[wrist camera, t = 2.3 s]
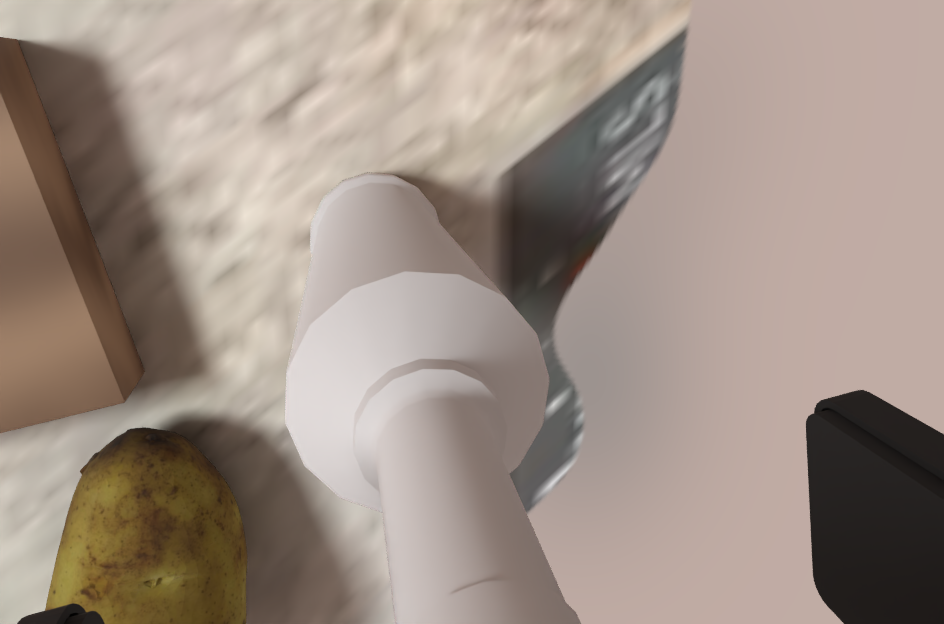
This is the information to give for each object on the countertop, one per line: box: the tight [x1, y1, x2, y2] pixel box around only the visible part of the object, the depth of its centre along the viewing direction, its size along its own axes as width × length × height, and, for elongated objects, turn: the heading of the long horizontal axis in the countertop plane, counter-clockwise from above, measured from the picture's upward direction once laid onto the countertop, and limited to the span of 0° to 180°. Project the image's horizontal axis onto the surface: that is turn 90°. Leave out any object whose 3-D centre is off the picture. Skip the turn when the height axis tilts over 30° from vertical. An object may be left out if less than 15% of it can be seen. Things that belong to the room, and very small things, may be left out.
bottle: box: [285, 172, 581, 624], centre depth 17 cm, size 5×5×25 cm
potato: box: [45, 428, 247, 624], centre depth 28 cm, size 8×13×8 cm, turn 158°
